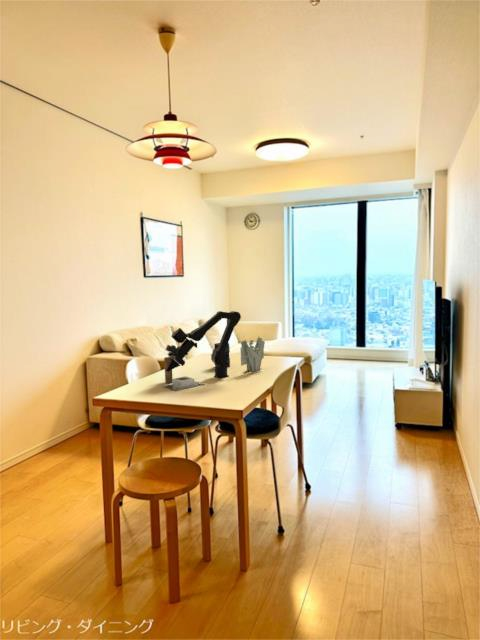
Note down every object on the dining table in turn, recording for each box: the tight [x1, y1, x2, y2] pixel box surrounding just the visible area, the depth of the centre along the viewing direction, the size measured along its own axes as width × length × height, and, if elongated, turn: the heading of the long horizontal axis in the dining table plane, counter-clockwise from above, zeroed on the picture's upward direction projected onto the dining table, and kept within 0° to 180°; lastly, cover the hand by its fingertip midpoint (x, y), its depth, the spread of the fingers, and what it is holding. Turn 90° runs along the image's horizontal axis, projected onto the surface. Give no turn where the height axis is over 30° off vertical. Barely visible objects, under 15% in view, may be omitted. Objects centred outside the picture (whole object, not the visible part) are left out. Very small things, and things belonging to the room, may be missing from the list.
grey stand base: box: [162, 375, 205, 392], centre depth 235 cm, size 18×12×4 cm, turn 131°
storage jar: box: [213, 342, 231, 368], centre depth 285 cm, size 10×10×15 cm
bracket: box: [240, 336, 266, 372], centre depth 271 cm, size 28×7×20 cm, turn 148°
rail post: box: [163, 356, 174, 385], centre depth 244 cm, size 4×4×14 cm
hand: (165, 370), depth 244 cm, fingers closed on rail post, 4 cm apart
